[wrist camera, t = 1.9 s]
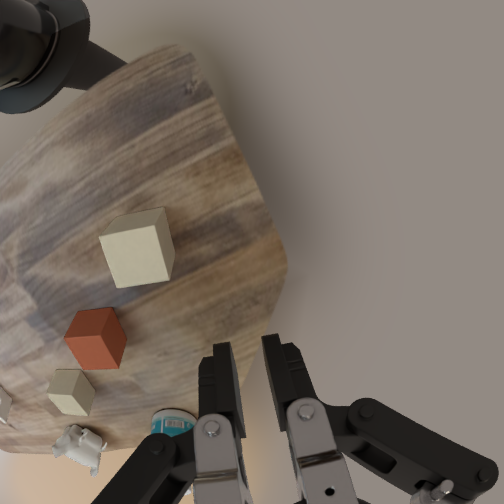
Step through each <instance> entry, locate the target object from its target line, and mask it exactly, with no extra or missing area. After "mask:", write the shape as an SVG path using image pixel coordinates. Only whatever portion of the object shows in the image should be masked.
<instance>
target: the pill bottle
mask: <svg viewBox="0 0 504 504" xmlns="http://www.w3.org/2000/svg"><path fill="white" fill-rule="evenodd" d="M196 422H197V420H196V419H195V417H194V416H192V415H191V414H189V413H187V412H185V411H181V410H175V409H167V410H162V411H159V412H157V413H156V414H155V415H154V416H153V418H152V428H151V434H153V433H165V434H167V435H169V436H170V437H173V436H175V435H178V434H181V433H184V432H186V431H188V430H190V429H191V428H192V427H193V426H194V425H195V423H196ZM190 493H191V486H190V487H189V489H188V490H187V492H186V493H185V495H188V494H190Z"/></svg>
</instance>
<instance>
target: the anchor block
mask: <svg viewBox="0 0 504 504" xmlns="http://www.w3.org/2000/svg"><path fill="white" fill-rule="evenodd" d="M64 340H65V341H66V343H67V345H68V346H69V348H70V350H71V351H72V353H73V355H74V356H75V358H76V359H77V361H78V362H79V364H80V366H81V367H82V369H83V370H95V369H119V366H120V363H121V359H122V355H123V352H124V348H125V345H126V341H127V338H126V336H125V334H124V332H123V330H122V328H121V326H120V323H119V321H118V319H117V317H116V315H115V312H114V310H113V308H112V307H109V308H101V309H93V310H85V311H78V312H77V314H76V316H75V317H74V319H73V321H72V323H71V325H70V327H69V329H68V331H67V333H66V334H65V336H64Z"/></svg>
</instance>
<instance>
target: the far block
mask: <svg viewBox="0 0 504 504" xmlns="http://www.w3.org/2000/svg"><path fill="white" fill-rule="evenodd" d="M95 392H96V391H95V389H94V388H93V387H92V385H91V384H90V382H89V381H88V380H87V378H86V377H85V375H84V374H83V372H82V371H81V370H56V371H55V373H54V375H53V378H52V380H51V383H50V385H49V387H48V390H47V392H46V394H47V395H48V397H49V398H50V399H51V400H52V401H53V403H54V404H55V405H56V406H57V407H58V408H59V409H60V411H61V412H62V413H63V414H69V415H81V416H89V413H90V410H91V406H92V402H93V399H94V395H95Z"/></svg>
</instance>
